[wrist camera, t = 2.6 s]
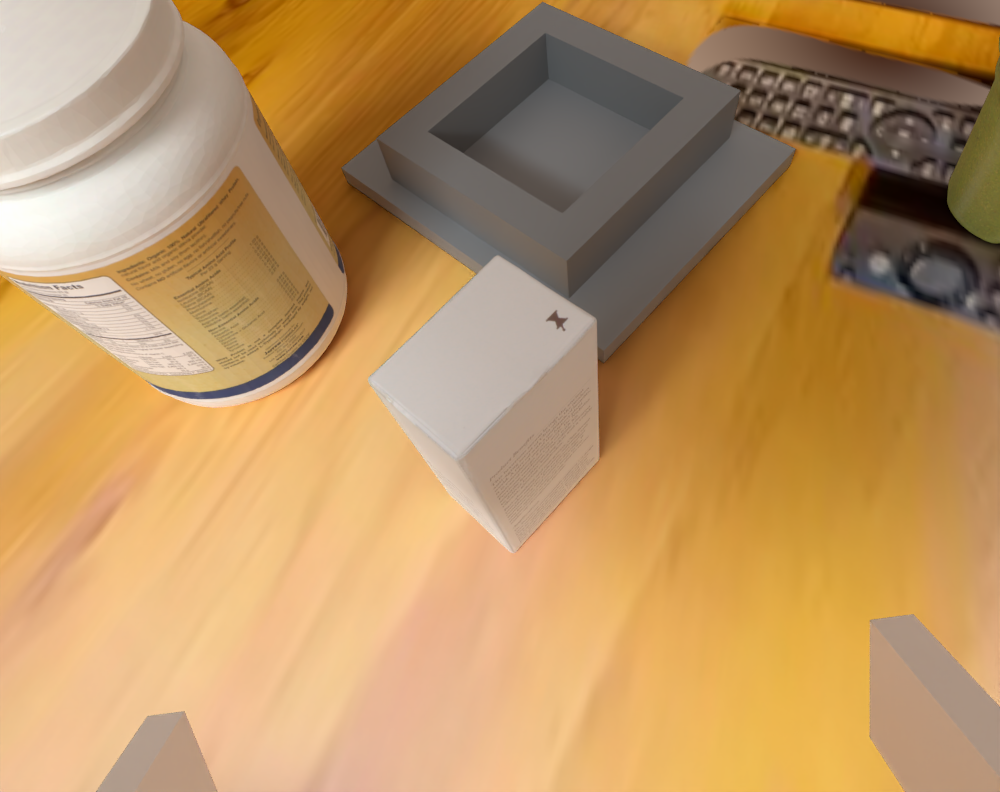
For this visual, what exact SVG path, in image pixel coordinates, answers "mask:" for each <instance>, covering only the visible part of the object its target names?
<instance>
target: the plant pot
mask: <svg viewBox="0 0 1000 792" xmlns="http://www.w3.org/2000/svg"><path fill="white" fill-rule="evenodd" d="M999 52H1000V37H999ZM947 203H948V206H949V209H950V211H951V212H952V214H953V216H954V217H955V218H956V219H957V221H958V222H959V223H960V224H961V225H962V226H963V227H964V228H966V229H967V230H968V231H969V232H971V233H972V234H974V235H975V236H977V237H979V238H981V239H983V240H985V241H987V242H990V243H1000V56H999V59H998V62H997V65H996V70H995V80H994V82H993V85H992V87H991V89H990V92H989V94H988V96H987V98H986V101H985V103H984V105H983V107H982V109H981V111H980V114H979V116H978V118H977V120H976V123H975V125H974V127H973V129H972V132H971V134H970V136H969V138H968V141H967V143H966V145H965V147H964V149H963V152H962V154H961V156H960V158H959V160H958V163H957V165H956V167H955V169H954V171H953V173H952V175H951V177H950V180H949V184H948V196H947Z"/></svg>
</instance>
